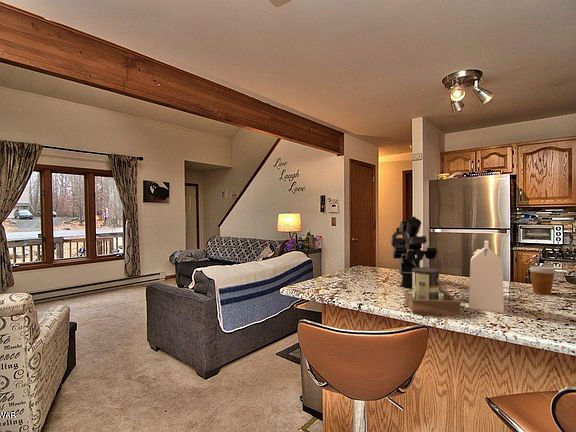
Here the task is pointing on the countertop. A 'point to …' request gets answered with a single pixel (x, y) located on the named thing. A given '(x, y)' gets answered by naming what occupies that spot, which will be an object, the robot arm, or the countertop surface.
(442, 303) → the brown tray
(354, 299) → the countertop surface
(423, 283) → the coffee can
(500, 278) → the milk
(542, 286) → the disposable coffee cup
